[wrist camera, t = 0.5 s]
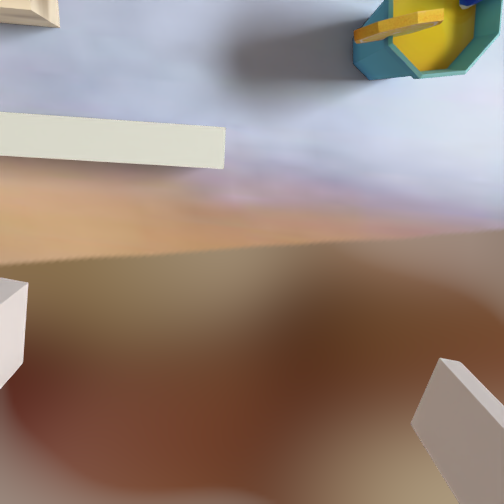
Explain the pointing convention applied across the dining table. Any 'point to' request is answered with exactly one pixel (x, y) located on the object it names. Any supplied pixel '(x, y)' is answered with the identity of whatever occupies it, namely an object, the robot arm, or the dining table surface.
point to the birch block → (30, 12)
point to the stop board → (111, 140)
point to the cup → (425, 37)
